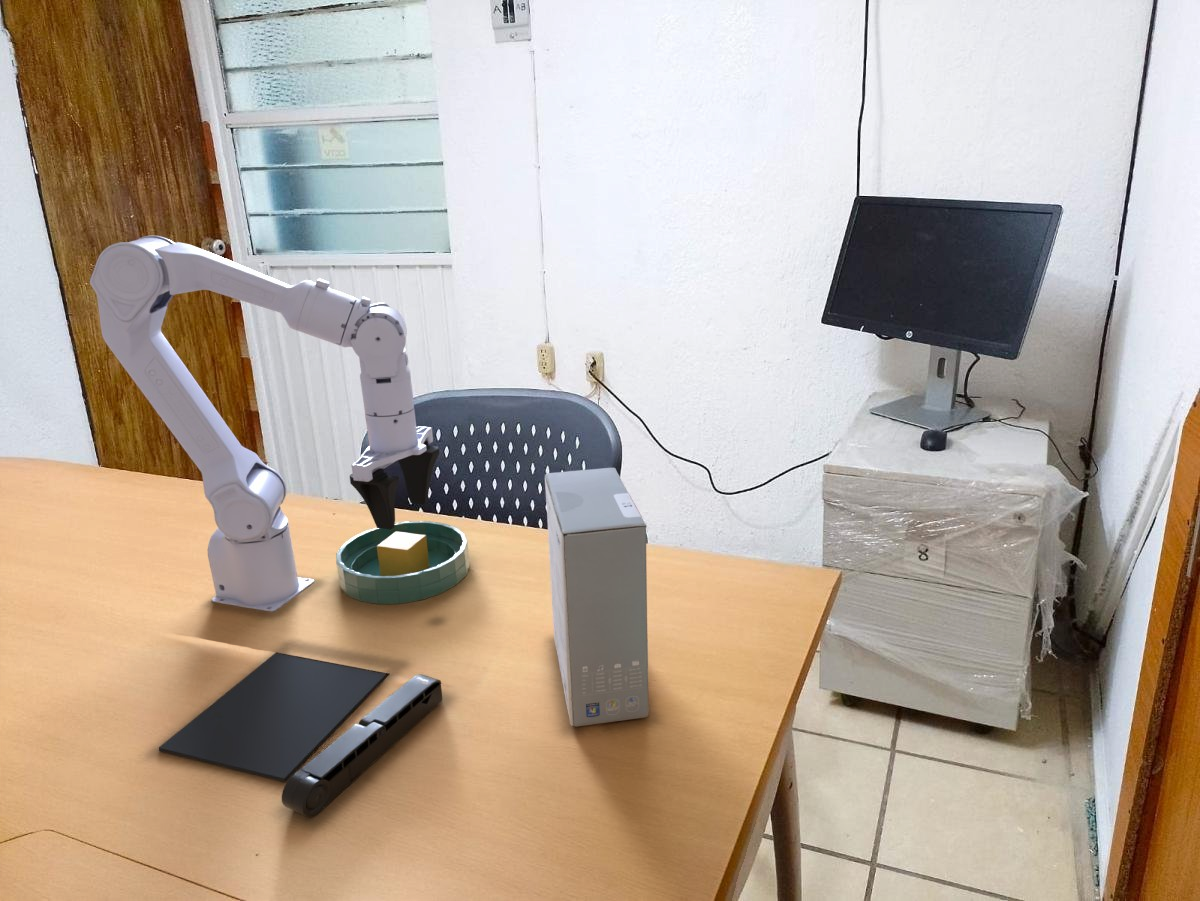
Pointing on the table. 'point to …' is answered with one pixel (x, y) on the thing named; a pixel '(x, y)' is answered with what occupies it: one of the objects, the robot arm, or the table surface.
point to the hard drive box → (598, 595)
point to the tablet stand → (360, 746)
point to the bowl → (369, 586)
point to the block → (403, 554)
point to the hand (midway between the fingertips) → (402, 514)
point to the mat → (275, 716)
